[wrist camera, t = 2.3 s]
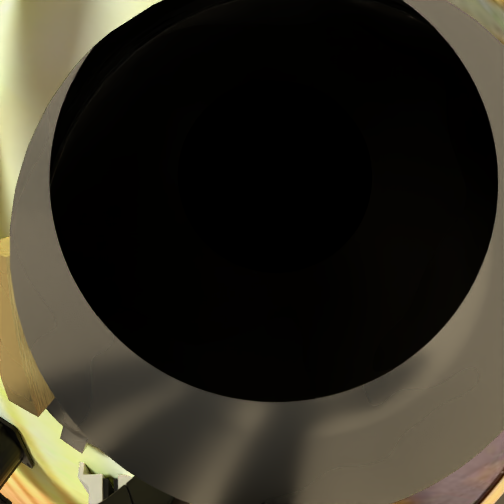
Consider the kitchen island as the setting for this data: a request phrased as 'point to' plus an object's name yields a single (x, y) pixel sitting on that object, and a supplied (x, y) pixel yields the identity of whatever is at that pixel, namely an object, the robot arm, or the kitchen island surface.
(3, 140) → the kitchen island surface
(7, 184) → the kitchen island surface
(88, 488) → the white rounded block
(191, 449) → the roller
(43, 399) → the sprocket
